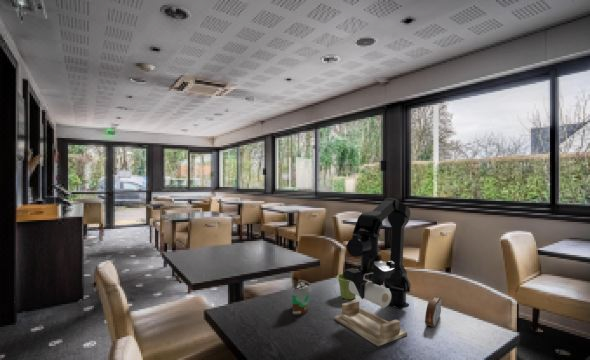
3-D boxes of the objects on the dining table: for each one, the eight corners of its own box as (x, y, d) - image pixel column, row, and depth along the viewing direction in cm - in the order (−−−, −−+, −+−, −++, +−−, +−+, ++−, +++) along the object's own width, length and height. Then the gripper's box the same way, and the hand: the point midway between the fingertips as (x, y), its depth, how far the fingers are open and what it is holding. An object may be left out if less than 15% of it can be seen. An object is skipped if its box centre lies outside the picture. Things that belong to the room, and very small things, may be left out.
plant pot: (361, 301, 128) (361, 280, 128) (338, 301, 128) (338, 280, 128) (357, 293, 137) (357, 273, 137) (335, 292, 137) (335, 273, 137)
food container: (308, 318, 112) (308, 291, 112) (291, 317, 113) (291, 289, 113) (313, 305, 124) (313, 280, 124) (298, 303, 125) (298, 279, 125)
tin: (433, 313, 117) (433, 291, 117) (442, 315, 115) (443, 292, 115) (424, 329, 105) (424, 304, 105) (434, 331, 103) (434, 306, 103)
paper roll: (348, 294, 111) (348, 277, 111) (360, 291, 114) (361, 275, 114) (378, 309, 98) (378, 290, 98) (391, 305, 101) (391, 287, 101)
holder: (361, 311, 118) (361, 298, 118) (407, 335, 100) (407, 319, 100) (334, 319, 112) (334, 305, 112) (378, 346, 94) (378, 329, 94)
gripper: (365, 260, 94) (365, 311, 94) (407, 252, 104) (407, 299, 104) (342, 252, 104) (341, 299, 104) (382, 246, 113) (381, 289, 113)
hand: (369, 296), depth 106 cm, fingers closed on paper roll, 6 cm apart
